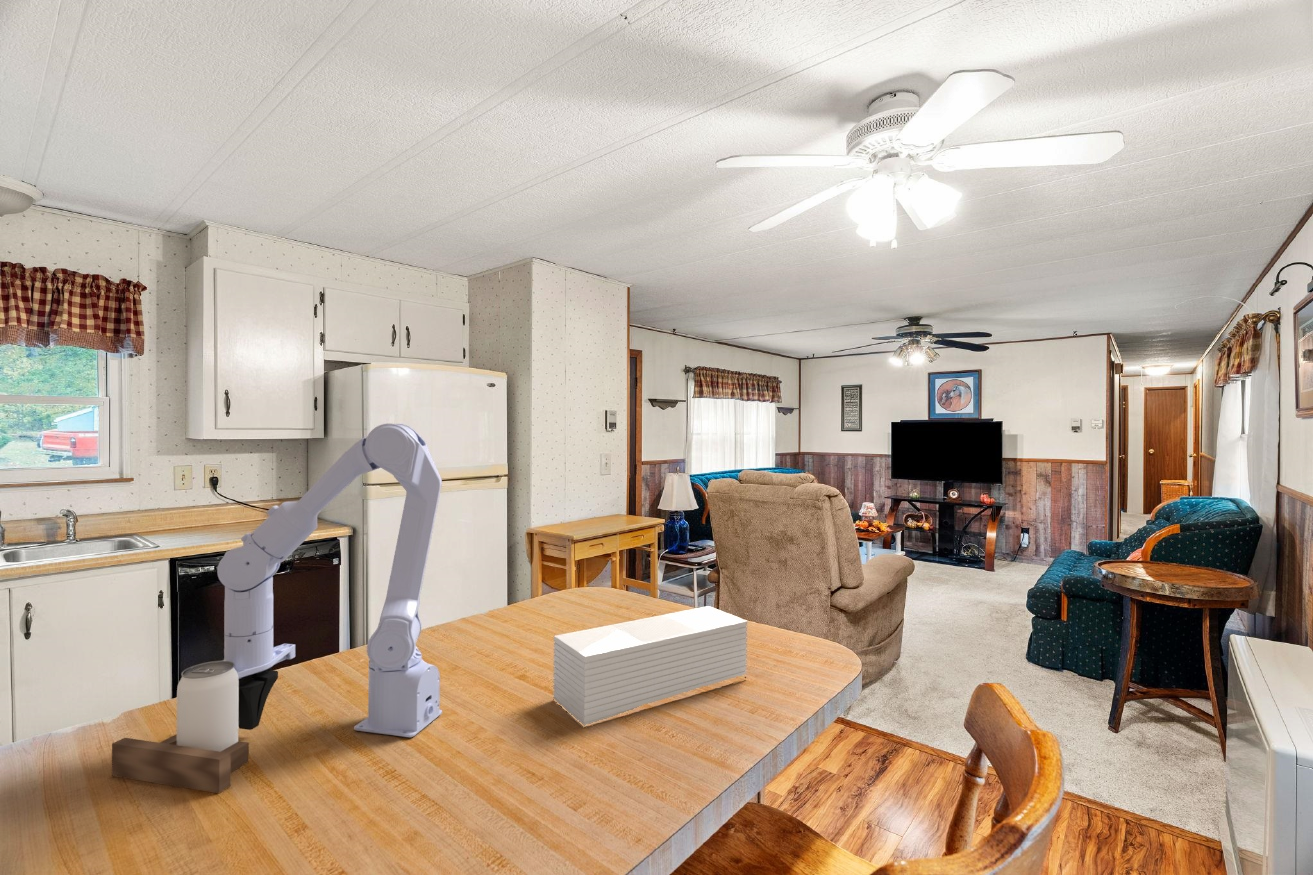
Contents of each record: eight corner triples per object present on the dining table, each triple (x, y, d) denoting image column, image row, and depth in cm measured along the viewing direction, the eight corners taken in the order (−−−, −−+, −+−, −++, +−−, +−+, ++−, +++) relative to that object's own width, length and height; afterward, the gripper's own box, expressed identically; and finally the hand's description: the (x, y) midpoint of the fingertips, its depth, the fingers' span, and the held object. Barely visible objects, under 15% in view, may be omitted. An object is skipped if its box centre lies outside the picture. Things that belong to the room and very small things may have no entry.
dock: (264, 764, 79) (265, 733, 79) (219, 793, 73) (219, 759, 73) (164, 749, 82) (164, 719, 82) (111, 775, 76) (112, 743, 76)
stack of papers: (708, 662, 117) (708, 605, 116) (746, 681, 108) (747, 620, 108) (553, 702, 99) (553, 635, 98) (583, 729, 90) (584, 656, 90)
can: (208, 776, 76) (209, 680, 76) (162, 771, 77) (163, 676, 77) (250, 750, 82) (250, 661, 82) (207, 745, 83) (208, 657, 83)
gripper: (267, 613, 94) (267, 701, 94) (175, 645, 79) (175, 749, 79) (307, 616, 92) (307, 706, 92) (221, 650, 78) (220, 756, 78)
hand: (248, 726), depth 86 cm, fingers closed
